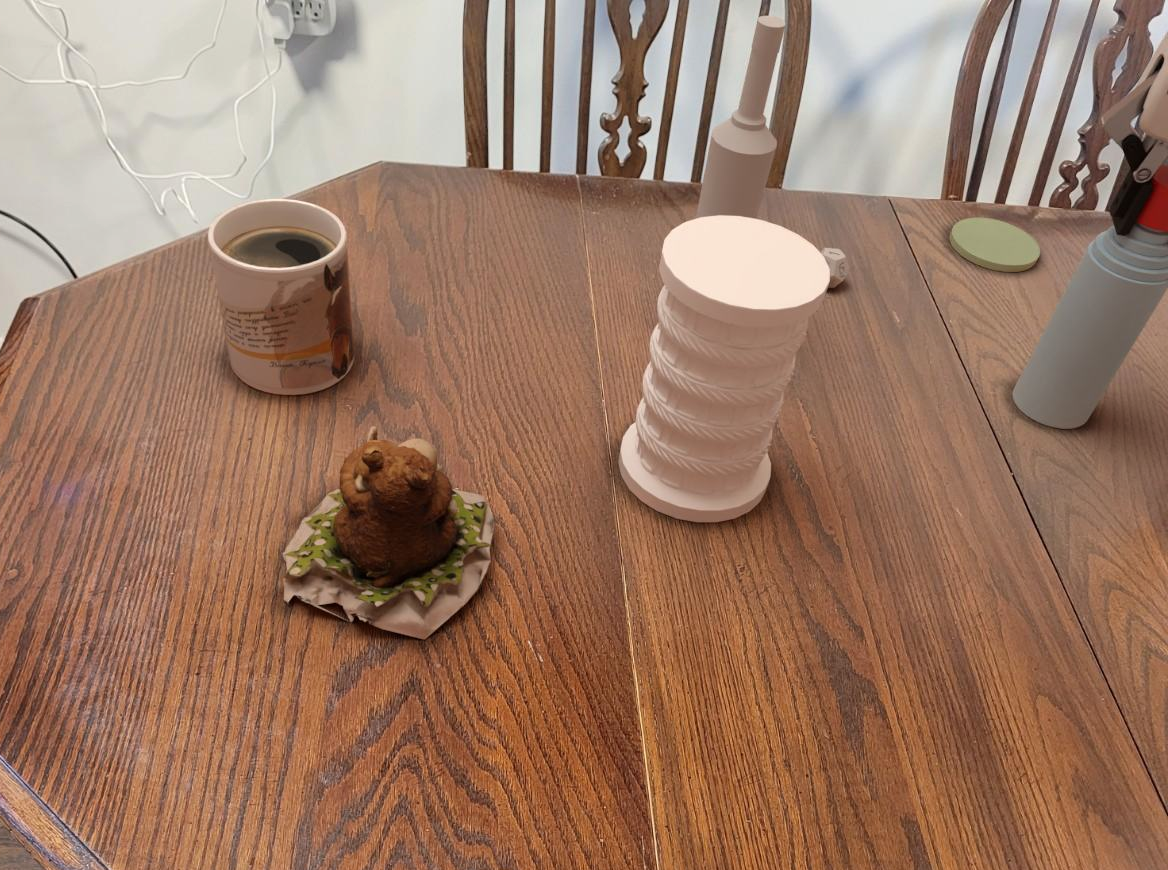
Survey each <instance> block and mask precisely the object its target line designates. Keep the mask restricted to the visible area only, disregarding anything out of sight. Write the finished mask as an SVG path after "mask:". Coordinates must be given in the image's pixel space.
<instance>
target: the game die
mask: <svg viewBox="0 0 1168 870" xmlns="http://www.w3.org/2000/svg"><path fill="white" fill-rule="evenodd" d="M819 252H820V253H821V254H822V255H823V256H824V258H825V260H826V262H827V265H828V267H829V269H830V282H829V285H828V288H827V289H829V288H830V289H834V288H836V287H837V286H838V285H839V284H841V283H842V282H843V281H844V280H845V278H846V277H847V275H848V273H849V272H850V270H851V269H850V265H849V262H848V258H847V255H846V254H844V252H843V251H842V250H841V249H840V248H833V247H824V248H823V249H822V250H821V251H819Z"/></svg>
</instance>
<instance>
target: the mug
mask: <svg viewBox="0 0 1168 870" xmlns="http://www.w3.org/2000/svg"><path fill="white" fill-rule="evenodd" d="M207 233H208V234H207V241H208V248H209V251H210V258H211V264H212V271H213V276H214V281H215V286H216V292H217V293H216V294H217V298H218V304H219V309H220V314H221V321H222V326H223V327H222V328H223V333H224V336H225V343H226V349H227V355H228V360H229V365H230V367H231V370H232V371H233V373H235V376H236V377H237V378H239V379H240V381H242V382H243V383H244V384H245V385H248V386H249V387H252V388H254V389H255V390H258V391H262V392H265V393H268V394H274V395H281V396H282V395H283V396H297V395H298V396H299V395H307V394H312V393H317V392H319V391H322V390H325V389H327V388H330V387H332V386H334V385H336V384H338V383H339V382H340V381H342V380H343V379H344V378H345V377H346V375H347V374H349V373H350V370H351V369H352V367H353V365H354V361H355V339H354V325H353V324H354V321H353V309H352V294H351V293H352V292H351V278H350V277H351V276H350V262H349V249H348V247H349V245H348V234H347V230H346V227H345V225H344V224H343V222H342V220H341V219H339V217H338V216H337V215H335V214H334V213H333V212H331V211H330V210H328V209H326V208H325V207H322V206H320V205H318V204H315V203H311V202H308V201H303V200H299V199H290V198H265V199H256V200H251V201H247V202H243V203H241V204H237V205H236V206H235V205H234V206H233V207H231V208H228V209H226V210H225V211H223V212H221V214H219V215H218V216H217V217H216V218H215V219H214V220H213V221H212V222H211V225H210V227H209V229H208V232H207Z"/></svg>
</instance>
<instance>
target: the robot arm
mask: <svg viewBox="0 0 1168 870" xmlns="http://www.w3.org/2000/svg"><path fill="white" fill-rule="evenodd" d="M1140 114H1141V116H1140ZM1138 116H1140V117H1139V122H1138V126H1139V128H1140V129H1139V130H1141V131H1142V132H1143V133H1144V134H1143V136H1142V137H1141V136H1140V134H1139V131H1138V129H1136V128H1135V127H1134V126H1133V125H1132V121H1134V120H1135V119H1136V118H1137V117H1138ZM1100 119H1101V125H1102V128H1103V130H1104V131H1105V133H1106V134H1107V135H1108V136H1109V137H1110V138H1111V139H1112V141H1113V142H1114V143H1115V144H1116V145H1118V147H1119V148H1120V149H1121V150H1122V153H1123V155H1124V158H1125V160H1126V162H1127V164H1128V166H1129V170H1128V172H1127V174H1126V176H1125V178H1124V180H1123V182H1122V184H1121V185H1120V187H1119V189H1118V190H1117V193H1116V195H1115V196H1114V199H1113V200H1112V202H1111V204H1110V208H1109V215H1110V217H1111V219H1112V223H1113V226H1114V227H1115V231H1116V234H1117V235H1120V236H1125V235H1128V234H1129V233H1130V231H1131V229H1132V227H1133V226H1134V224H1135V222H1136V220H1137V218H1138V217H1139V215H1140V213H1141V211H1142V209H1143V208H1144V206H1145V204H1146V202H1147V200H1148V199H1149V197H1150V195H1151V193H1152V191H1153V188H1154V186H1153V184H1152V183H1151V180H1152V179H1153V177H1154V175H1155V172H1156V171H1157V169H1158V168H1159V167H1160V166H1162V164H1163V163H1164V161H1165V160H1166V159H1167V157H1168V30H1167V31H1166V33H1165V35H1164V36H1163V38H1162V40H1161V42H1160V43H1159V44H1158V46H1157V47H1156V50H1155V51H1154V53H1153V55H1152V57H1151V58H1150V60H1149V62H1148V63H1147V65H1146V67H1145V68H1144V71H1143V72H1142V74H1141V76H1140V77H1139V80H1138V81H1137V84H1136V86H1135V88H1134V89H1132V90H1131V91H1130V92H1129V93H1128V94H1126V95H1125V96H1124V97H1122V98H1121V99H1120V100H1119V101H1117V103H1115V104H1114V105H1113V106H1111V107H1110V108H1108V109H1107V110H1106V111H1105V112H1104V113H1103V114H1102V116H1101V117H1100Z"/></svg>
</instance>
